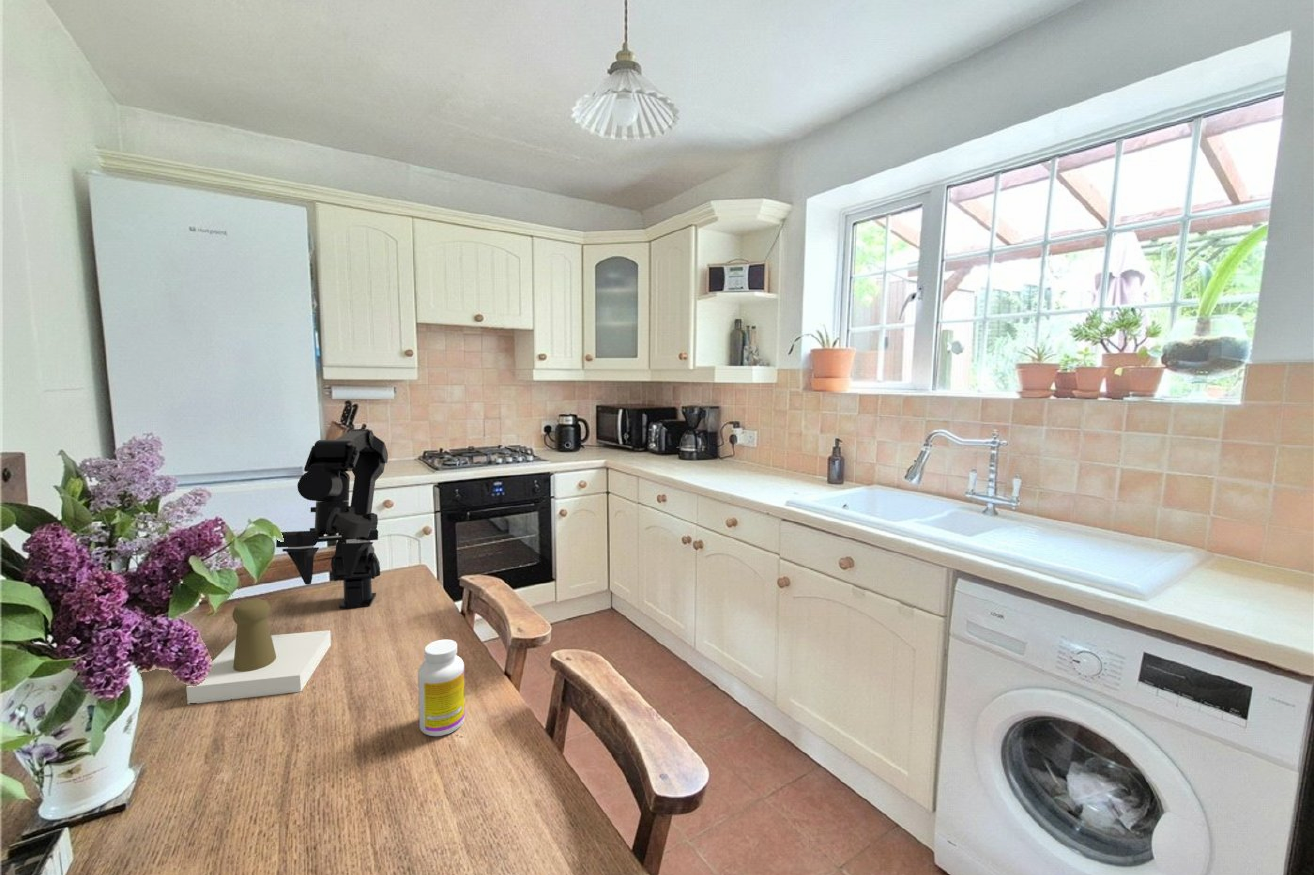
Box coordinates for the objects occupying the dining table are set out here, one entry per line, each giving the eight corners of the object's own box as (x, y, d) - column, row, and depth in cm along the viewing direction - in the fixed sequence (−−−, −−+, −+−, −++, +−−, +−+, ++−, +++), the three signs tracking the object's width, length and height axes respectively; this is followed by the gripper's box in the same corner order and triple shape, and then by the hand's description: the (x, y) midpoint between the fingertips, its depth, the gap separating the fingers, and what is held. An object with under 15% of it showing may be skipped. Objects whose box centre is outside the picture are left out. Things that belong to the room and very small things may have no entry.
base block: (236, 653, 101) (235, 638, 101) (331, 644, 105) (330, 630, 105) (187, 704, 86) (186, 687, 85) (300, 691, 90) (300, 675, 90)
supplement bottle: (472, 724, 83) (472, 647, 82) (431, 745, 79) (429, 663, 77) (452, 705, 88) (451, 631, 86) (412, 723, 83) (410, 646, 82)
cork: (278, 663, 93) (274, 603, 91) (234, 675, 89) (229, 613, 88) (274, 649, 97) (270, 592, 96) (232, 660, 93) (227, 600, 92)
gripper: (322, 500, 96) (318, 589, 94) (399, 500, 114) (397, 574, 112) (276, 502, 99) (271, 588, 97) (358, 501, 117) (355, 574, 115)
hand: (329, 580), depth 105 cm, fingers open, 9 cm apart
